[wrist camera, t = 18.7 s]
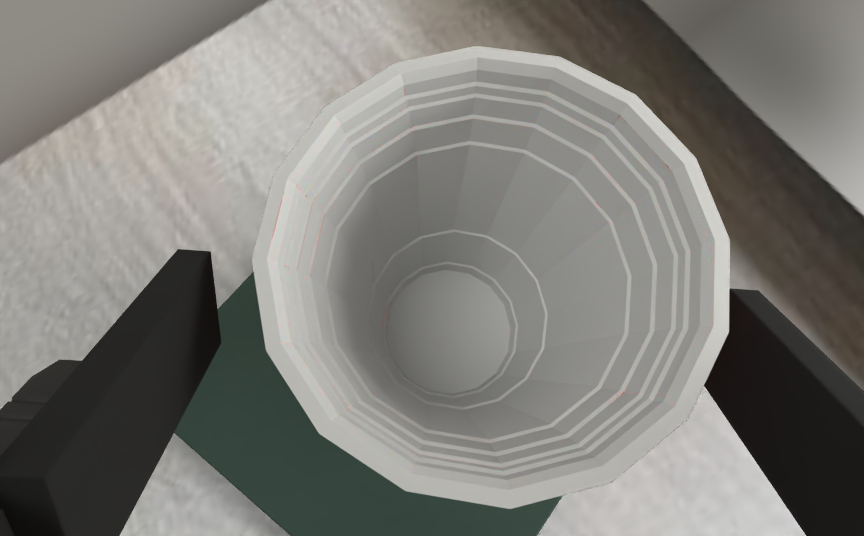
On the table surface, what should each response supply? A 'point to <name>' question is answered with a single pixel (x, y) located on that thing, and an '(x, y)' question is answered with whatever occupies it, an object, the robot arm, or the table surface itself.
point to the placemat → (311, 453)
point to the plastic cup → (492, 276)
